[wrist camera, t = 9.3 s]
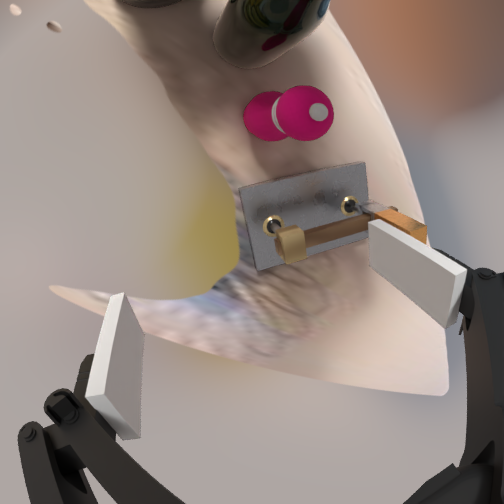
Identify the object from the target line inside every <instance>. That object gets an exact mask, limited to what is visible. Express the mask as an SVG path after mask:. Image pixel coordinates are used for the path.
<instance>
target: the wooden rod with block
mask: <svg viewBox="0 0 504 504" xmlns="http://www.w3.org/2000/svg"><path fill="white" fill-rule="evenodd" d="M388 208H390V209H393V210H395V211H397V212H398V209H397V208H395V207H393V206H391V207H388ZM370 221H371V215H370V214H368V213H365V214H362V215H358V216H354V217H351V218H347V219H343V220H340V221H336V222H332V223H329V224H325V225H322V226H318V227H314V228H311V229H307V230H304V231H303V230H302V229H300V228H299V227H298V226H297V225H296V224H295V225H291V226H288V227H284V228H281V227H280V226H278V225H277V224H276V223H272V224H271V226H270V228H271V229H272V230H273V231H274V233H275V234H276V238H275V239H274V242H275V248H276V252H277V253H278V255H279V256H280V257H281V258H282V259H283V261H284V262H285V263H286V264H291V263H294V262H297V261H300V260H304V259H307V252H306V248H309V247H312V246H316V245H319V244H322V243H326V242H329V241H333V240H336V239H339V238H343V237H346V236H349V235H353V234H356V233H359V232H363V231H366V230H368V222H370Z"/></svg>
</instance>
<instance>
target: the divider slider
mask: <svg viewBox="0 0 504 504" xmlns="http://www.w3.org/2000/svg"><path fill="white" fill-rule="evenodd" d="M350 208H351V209H352V210H353V211H354V212H356V213H358V214H359V215H362V214H365V213H368V214H370V215H371V221H374V220H377V219H380V220H382V221H384V222H386V223H388V224H390V225H391V226H393V227H395V228H397V229H399V230H401V231H402V232H404V233H406V234H408V235H410V236H411V237H413V238H415V239H417V240H419V241H420V242H422V243H424V244H426V237H427V226H426V225H424V224H422V223H420V222H418V221H416V220H414V219H412V218H410V217H408V216H405V215H403V214H401V213H399V212H397V211H395V210H393V209H390V208H388V207H386V206H384V205H382V204H379V203H377V202H375V201H373V200H367V201H363V202H359V203H355V206H351V207H350ZM364 232H366V233H367V234H369V232H368V230H366V231H364Z"/></svg>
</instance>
